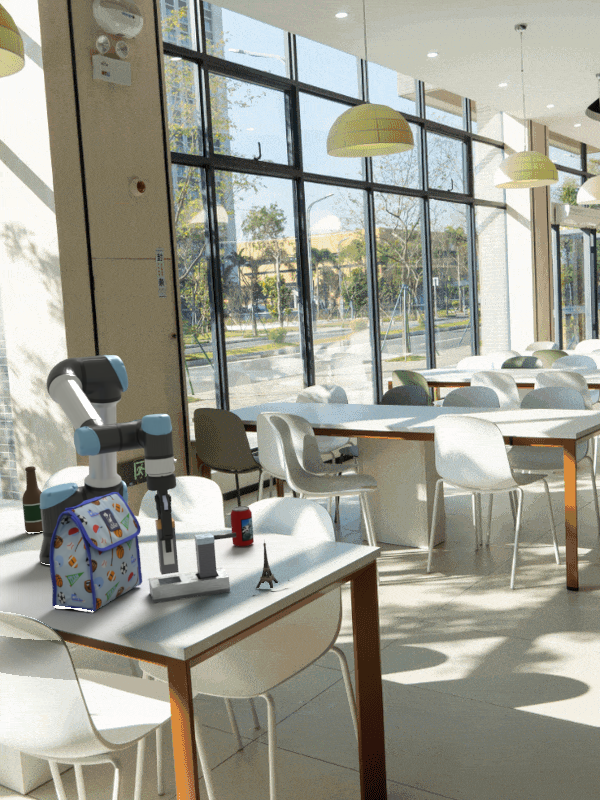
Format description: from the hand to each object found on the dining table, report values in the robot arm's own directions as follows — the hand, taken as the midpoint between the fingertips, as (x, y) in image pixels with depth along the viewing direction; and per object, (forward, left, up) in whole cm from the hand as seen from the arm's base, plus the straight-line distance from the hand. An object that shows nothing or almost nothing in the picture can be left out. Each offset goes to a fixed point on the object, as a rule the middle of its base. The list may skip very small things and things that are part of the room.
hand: (168, 561), depth 217 cm
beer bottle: (-97, -37, -9) cm, 104 cm away
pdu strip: (0, +7, -9) cm, 11 cm away
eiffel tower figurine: (+5, +25, -10) cm, 27 cm away
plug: (0, 0, -3) cm, 3 cm away
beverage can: (-40, +28, -9) cm, 50 cm away
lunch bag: (-7, -18, -9) cm, 21 cm away
